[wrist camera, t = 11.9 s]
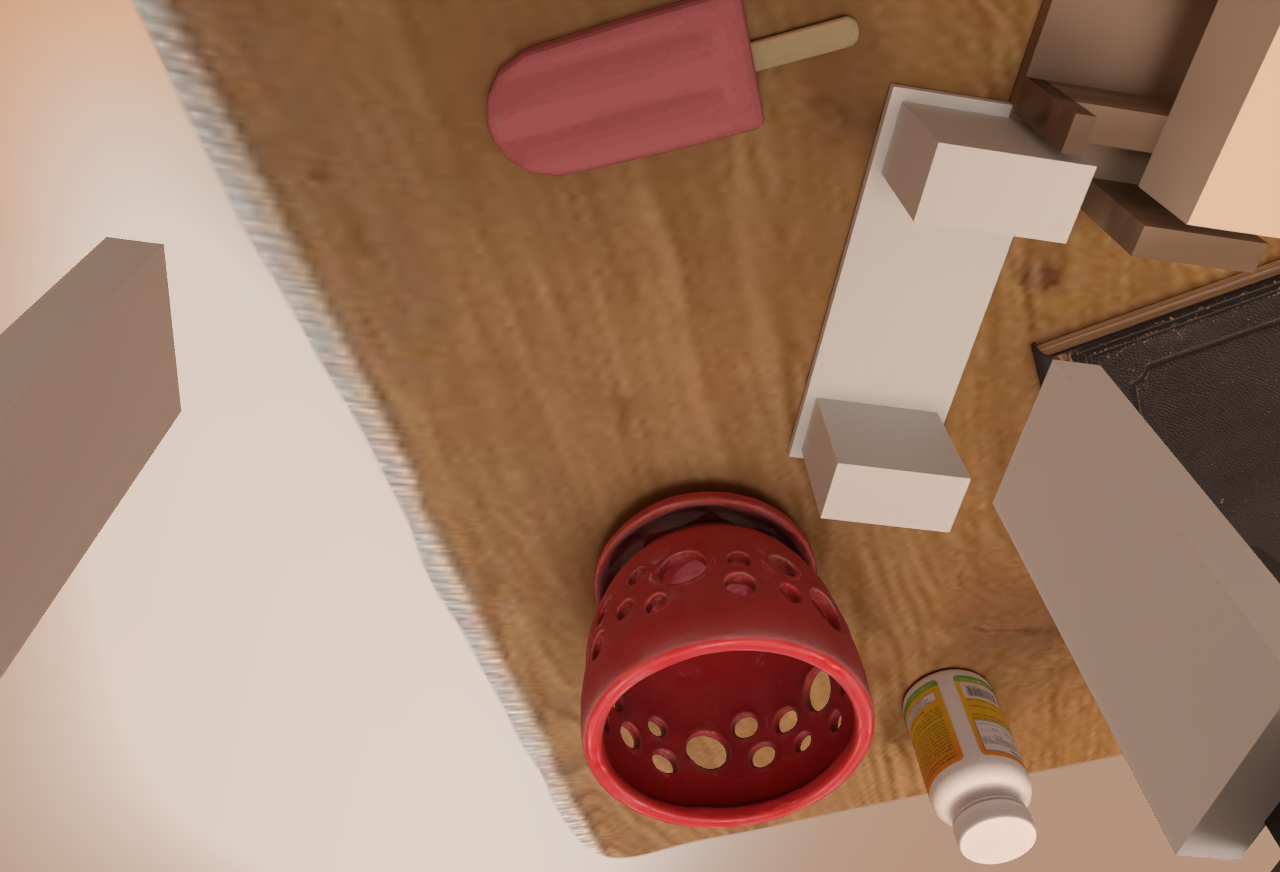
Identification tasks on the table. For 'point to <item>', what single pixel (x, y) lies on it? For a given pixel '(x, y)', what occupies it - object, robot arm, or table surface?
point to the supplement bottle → (971, 765)
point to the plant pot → (718, 664)
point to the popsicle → (643, 85)
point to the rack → (1122, 115)
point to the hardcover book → (1203, 388)
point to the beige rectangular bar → (1225, 127)
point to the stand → (921, 299)
